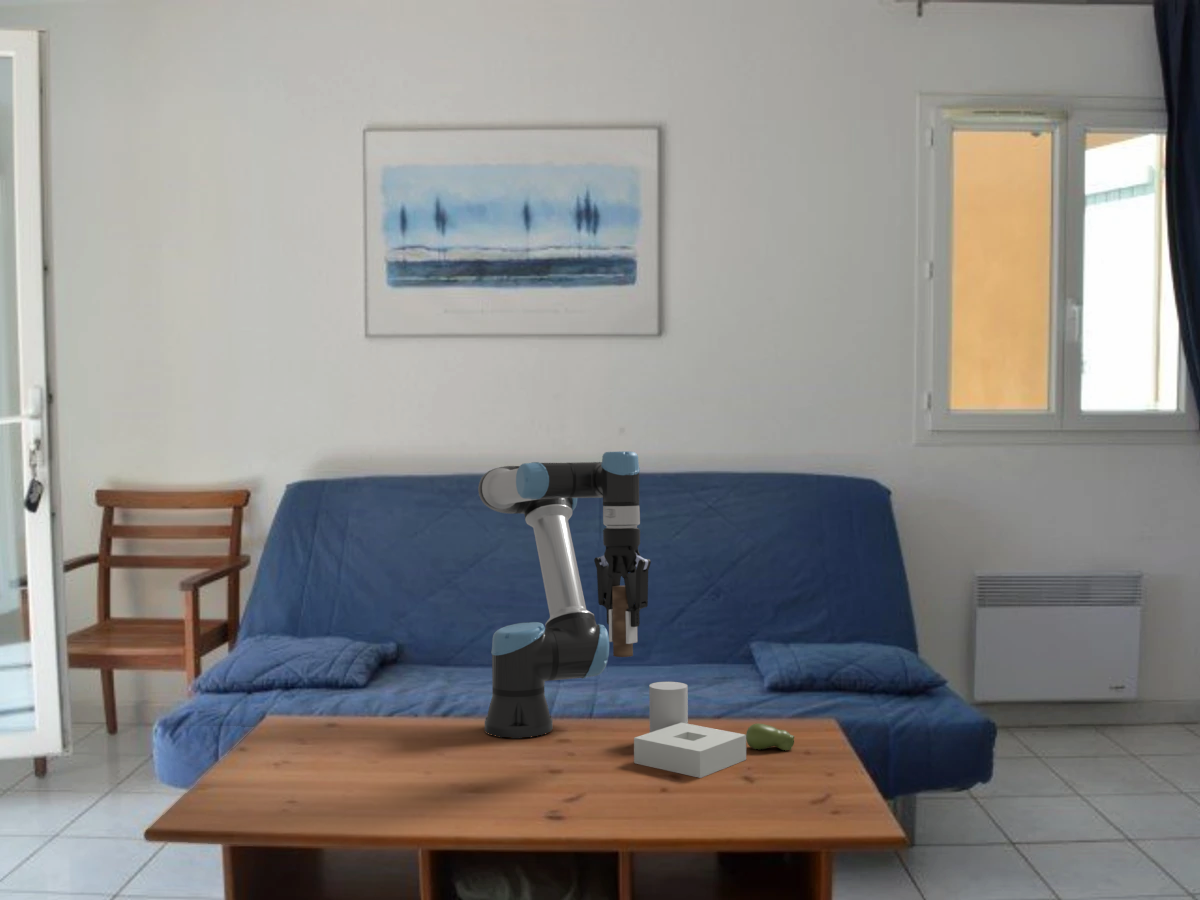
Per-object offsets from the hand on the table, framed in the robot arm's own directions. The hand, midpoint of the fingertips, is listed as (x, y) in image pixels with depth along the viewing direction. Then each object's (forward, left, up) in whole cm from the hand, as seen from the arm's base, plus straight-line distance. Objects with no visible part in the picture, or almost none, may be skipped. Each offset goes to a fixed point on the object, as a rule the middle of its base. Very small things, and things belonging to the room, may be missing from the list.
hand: (623, 641), depth 222 cm
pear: (+20, +23, -24) cm, 39 cm away
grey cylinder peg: (+1, +15, -23) cm, 28 cm away
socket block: (+13, +5, -23) cm, 27 cm away
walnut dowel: (0, 0, -3) cm, 3 cm away
